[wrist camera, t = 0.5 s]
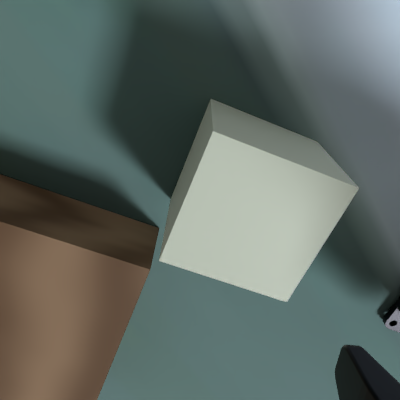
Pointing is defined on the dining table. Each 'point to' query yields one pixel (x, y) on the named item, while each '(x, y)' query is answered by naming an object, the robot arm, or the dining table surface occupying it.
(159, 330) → the dining table surface
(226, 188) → the sage cube
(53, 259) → the walnut block
